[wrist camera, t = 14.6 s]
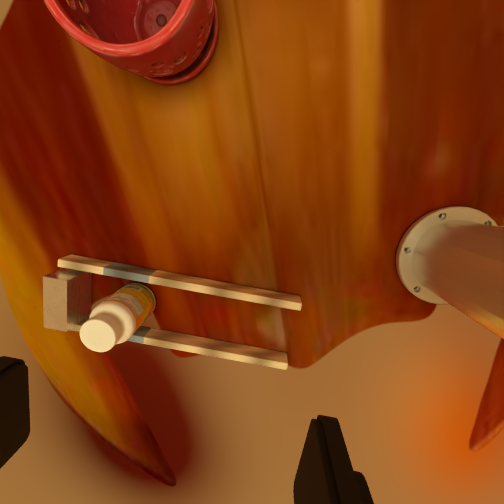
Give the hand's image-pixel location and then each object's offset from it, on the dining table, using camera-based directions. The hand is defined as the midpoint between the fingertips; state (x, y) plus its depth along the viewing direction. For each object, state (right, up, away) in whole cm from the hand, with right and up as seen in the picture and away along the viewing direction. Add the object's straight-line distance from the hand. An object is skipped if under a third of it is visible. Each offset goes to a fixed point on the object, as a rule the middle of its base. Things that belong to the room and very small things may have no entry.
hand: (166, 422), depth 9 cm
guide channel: (-7, -2, +30) cm, 31 cm away
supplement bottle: (-13, -1, +30) cm, 33 cm away
